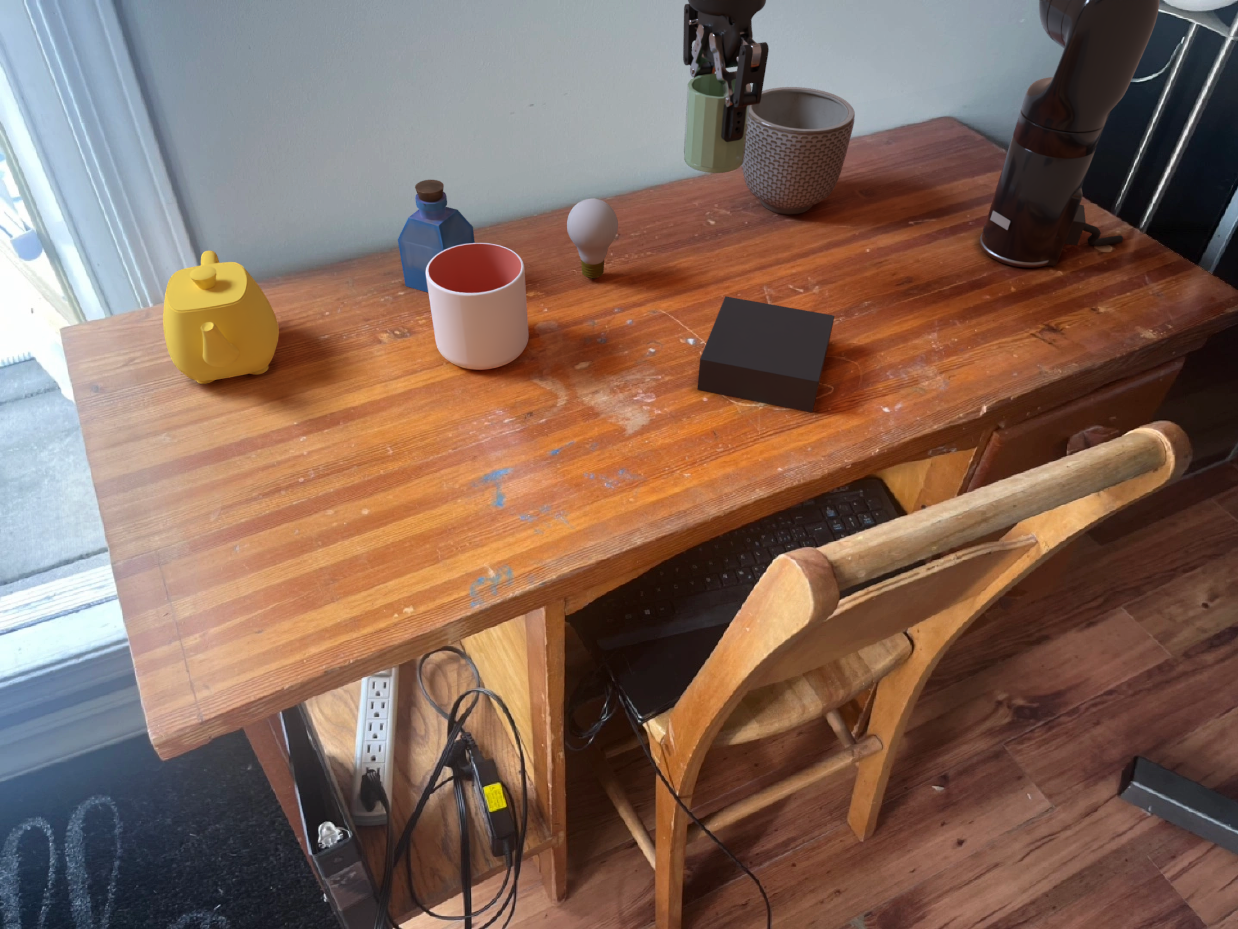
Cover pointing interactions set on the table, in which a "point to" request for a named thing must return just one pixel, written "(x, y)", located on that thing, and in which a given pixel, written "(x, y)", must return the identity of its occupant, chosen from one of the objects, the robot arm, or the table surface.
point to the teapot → (218, 321)
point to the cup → (478, 305)
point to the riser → (766, 353)
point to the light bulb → (592, 233)
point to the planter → (796, 147)
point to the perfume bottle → (430, 232)
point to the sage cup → (710, 128)
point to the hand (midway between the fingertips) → (716, 125)
